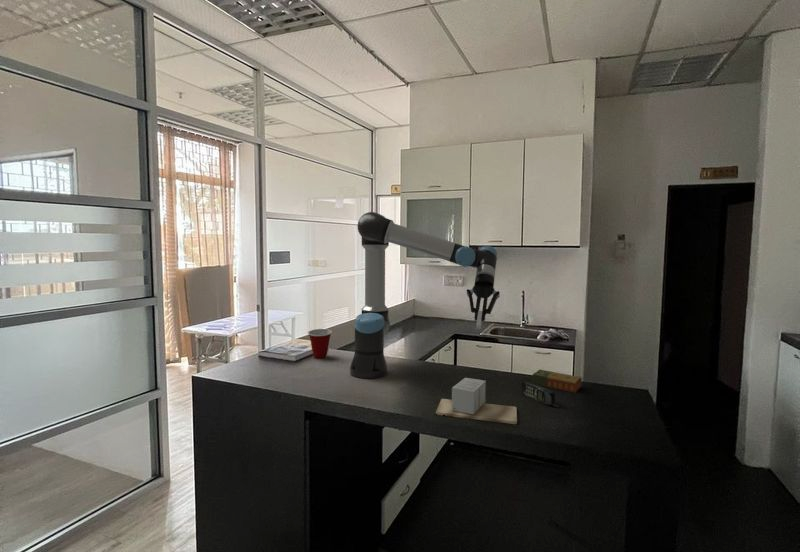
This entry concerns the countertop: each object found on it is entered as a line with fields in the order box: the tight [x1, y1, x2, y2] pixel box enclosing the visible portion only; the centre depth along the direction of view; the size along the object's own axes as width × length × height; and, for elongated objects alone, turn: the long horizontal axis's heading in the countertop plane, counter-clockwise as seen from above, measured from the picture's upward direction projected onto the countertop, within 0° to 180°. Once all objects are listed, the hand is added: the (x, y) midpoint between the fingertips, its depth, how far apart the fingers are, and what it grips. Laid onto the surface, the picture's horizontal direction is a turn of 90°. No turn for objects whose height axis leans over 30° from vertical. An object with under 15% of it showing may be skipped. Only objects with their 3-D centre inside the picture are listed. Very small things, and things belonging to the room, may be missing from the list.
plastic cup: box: [307, 328, 333, 359], centre depth 192 cm, size 11×11×12 cm
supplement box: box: [451, 377, 487, 414], centre depth 133 cm, size 7×7×13 cm
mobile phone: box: [521, 381, 560, 408], centre depth 142 cm, size 5×3×15 cm
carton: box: [531, 369, 583, 393], centre depth 159 cm, size 8×16×4 cm, turn 53°
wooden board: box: [435, 398, 518, 425], centre depth 131 cm, size 24×12×1 cm, turn 75°
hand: (478, 327), depth 155 cm, fingers closed
